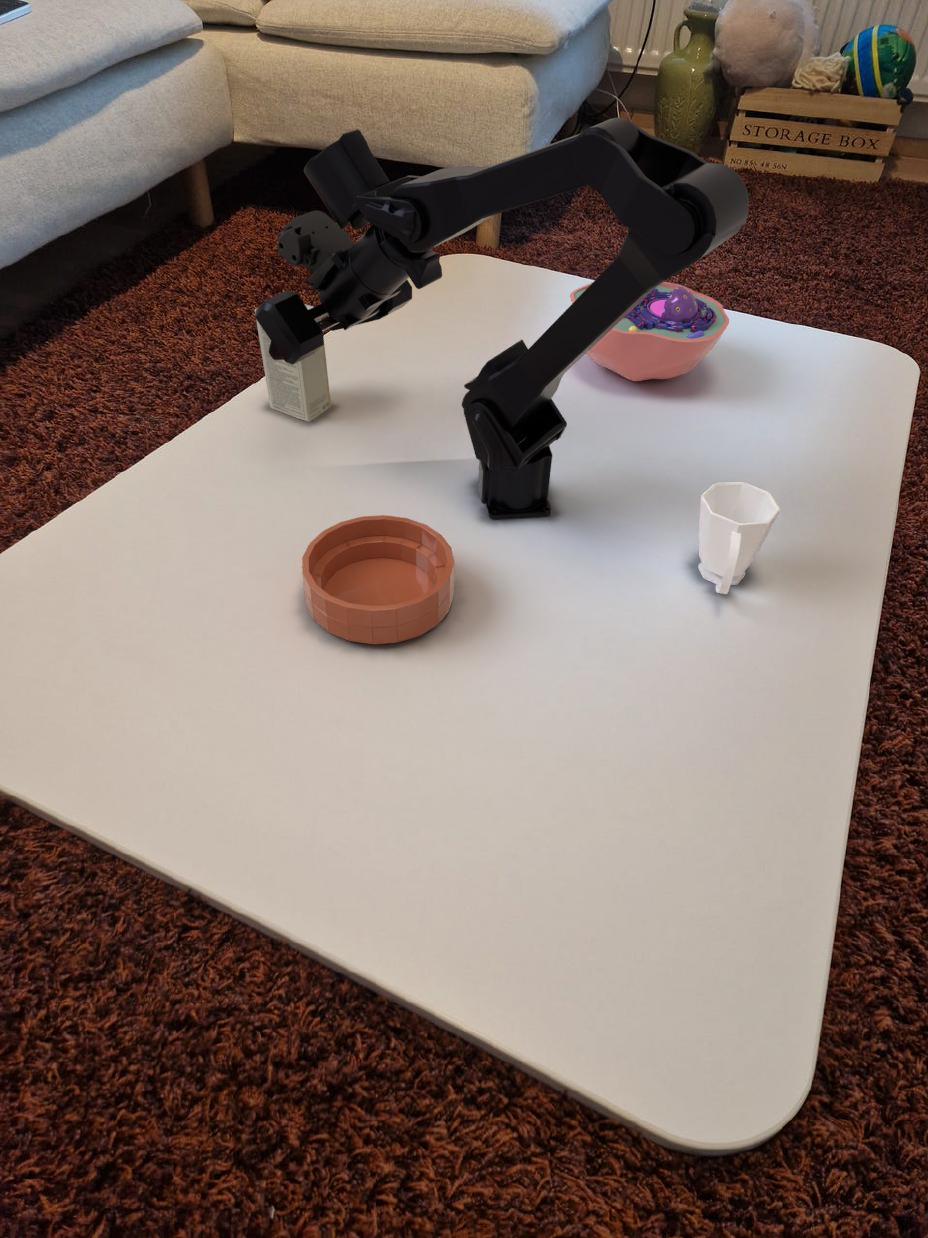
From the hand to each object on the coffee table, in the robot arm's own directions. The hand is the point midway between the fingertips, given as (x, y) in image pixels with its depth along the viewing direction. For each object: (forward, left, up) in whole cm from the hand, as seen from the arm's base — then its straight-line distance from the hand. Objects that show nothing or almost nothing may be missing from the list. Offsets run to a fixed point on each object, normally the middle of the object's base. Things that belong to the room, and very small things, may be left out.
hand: (301, 340), depth 101 cm
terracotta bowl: (-6, +34, -9) cm, 36 cm away
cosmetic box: (+1, -1, -9) cm, 9 cm away
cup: (-38, +35, -9) cm, 52 cm away
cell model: (-42, -7, -9) cm, 43 cm away
